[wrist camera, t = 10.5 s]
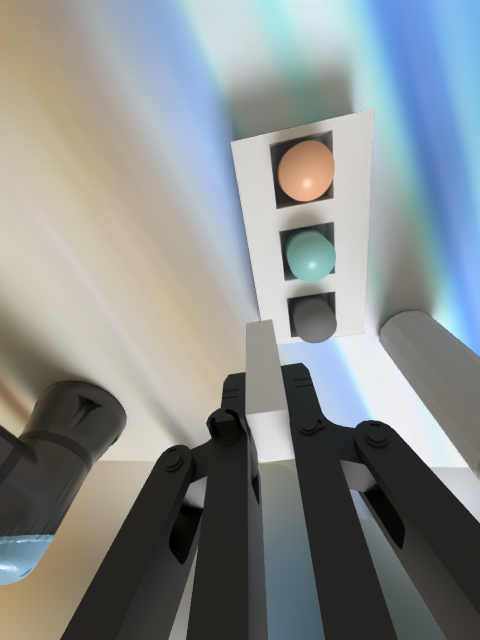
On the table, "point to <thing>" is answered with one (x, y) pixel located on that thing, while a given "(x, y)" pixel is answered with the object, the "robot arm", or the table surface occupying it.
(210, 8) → the table surface
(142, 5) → the table surface
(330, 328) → the button charcoal
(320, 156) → the button terracotta
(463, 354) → the water bottle
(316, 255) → the button teal
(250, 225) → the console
